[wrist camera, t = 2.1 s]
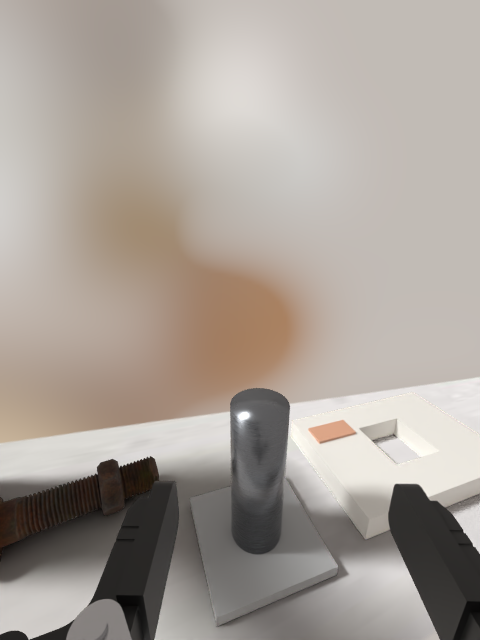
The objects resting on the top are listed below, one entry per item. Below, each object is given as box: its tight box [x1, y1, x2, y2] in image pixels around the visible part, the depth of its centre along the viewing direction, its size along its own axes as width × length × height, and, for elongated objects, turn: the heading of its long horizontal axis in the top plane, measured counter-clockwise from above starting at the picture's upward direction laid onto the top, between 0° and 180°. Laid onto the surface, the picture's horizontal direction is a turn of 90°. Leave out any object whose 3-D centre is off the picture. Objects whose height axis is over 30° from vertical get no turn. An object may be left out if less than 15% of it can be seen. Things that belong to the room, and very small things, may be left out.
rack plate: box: [291, 392, 480, 540], centre depth 36 cm, size 20×14×3 cm
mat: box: [190, 478, 338, 626], centre depth 28 cm, size 10×10×1 cm
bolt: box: [0, 456, 159, 560], centre depth 29 cm, size 6×5×15 cm
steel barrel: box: [230, 388, 290, 555], centre depth 25 cm, size 4×4×13 cm
